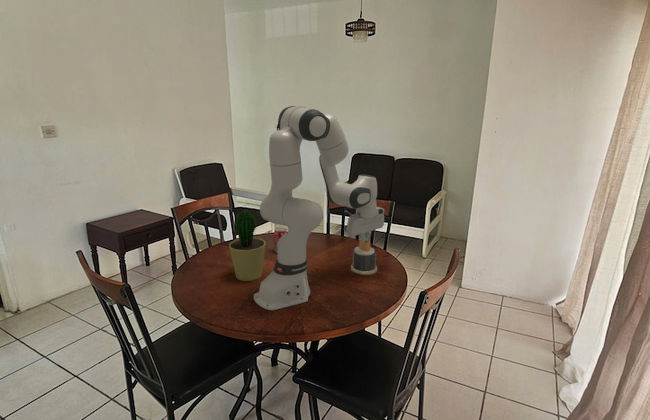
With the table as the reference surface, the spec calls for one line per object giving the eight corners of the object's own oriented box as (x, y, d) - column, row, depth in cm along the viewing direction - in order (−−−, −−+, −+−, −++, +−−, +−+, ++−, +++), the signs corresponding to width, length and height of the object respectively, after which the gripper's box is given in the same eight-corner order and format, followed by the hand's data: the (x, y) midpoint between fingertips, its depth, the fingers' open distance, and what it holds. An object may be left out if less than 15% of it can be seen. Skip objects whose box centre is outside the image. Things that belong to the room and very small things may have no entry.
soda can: (289, 249, 192) (288, 227, 188) (286, 254, 185) (285, 231, 182) (275, 248, 192) (275, 226, 189) (272, 253, 185) (271, 231, 182)
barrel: (363, 277, 160) (364, 259, 158) (345, 268, 169) (345, 251, 167) (382, 270, 167) (383, 253, 165) (363, 262, 176) (364, 245, 174)
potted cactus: (259, 284, 153) (256, 215, 145) (224, 281, 156) (219, 213, 148) (271, 269, 167) (269, 206, 159) (240, 266, 170) (236, 204, 162)
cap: (364, 263, 160) (364, 246, 158) (350, 257, 167) (350, 240, 165) (378, 258, 166) (379, 241, 164) (364, 252, 173) (364, 236, 170)
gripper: (353, 217, 152) (353, 248, 156) (387, 208, 164) (385, 237, 168) (343, 213, 157) (343, 244, 160) (376, 205, 169) (375, 234, 173)
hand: (365, 240), depth 164 cm, fingers closed
